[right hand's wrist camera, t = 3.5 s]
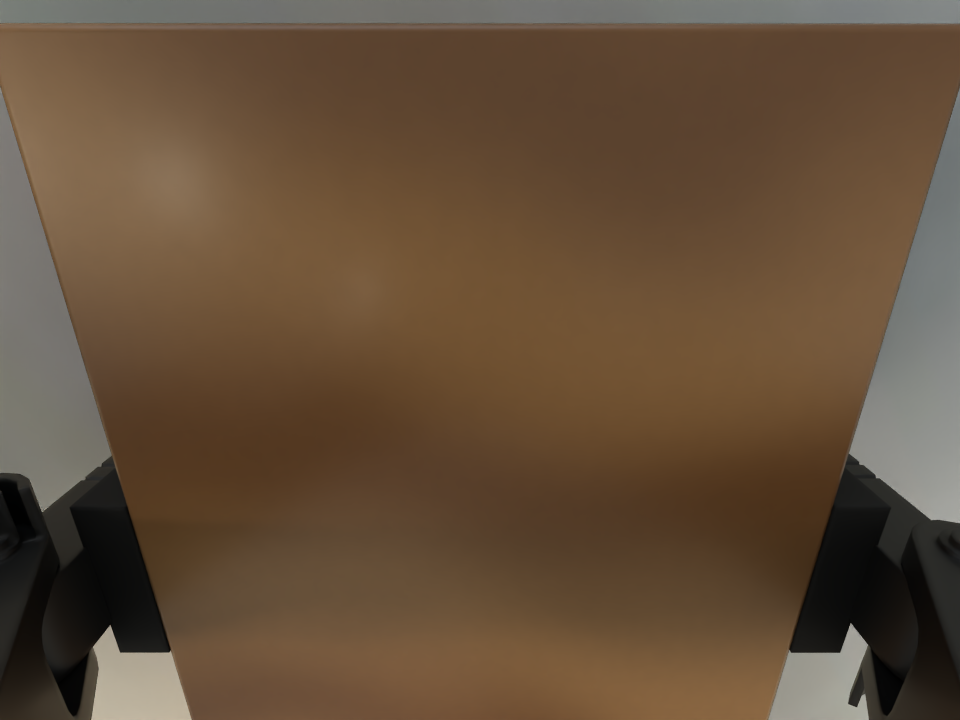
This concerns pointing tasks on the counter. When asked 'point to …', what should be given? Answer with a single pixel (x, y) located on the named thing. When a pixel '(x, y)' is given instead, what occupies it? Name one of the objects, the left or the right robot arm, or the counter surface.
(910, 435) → the counter surface
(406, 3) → the counter surface
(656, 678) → the wooden beam
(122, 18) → the counter surface
